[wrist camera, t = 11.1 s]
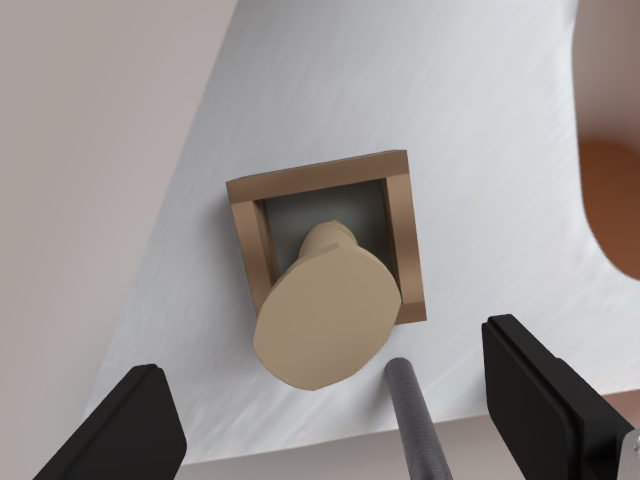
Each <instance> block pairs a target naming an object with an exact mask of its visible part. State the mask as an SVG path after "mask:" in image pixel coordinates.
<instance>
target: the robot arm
mask: <svg viewBox="0 0 640 480" xmlns="http://www.w3.org/2000/svg"><path fill="white" fill-rule="evenodd" d="M482 340H483V354H484V367H485V381H486V394H487V406H488V410H489V414H490V416H491V419H492V420H493V422H494V424H495V426H496V428H497V429H498V431H499V433H500V435H501V436H502V438H503V440H504V442H505V444H506V445H507V447H508V449H509V451H510V452H511V454H512V456H513V458H514V459H515V461H516V463H517V465H518V467H519V468H520V470H521V472H522V474H523V475H524V477H525V479H526V480H640V429H635V428H634V427H633V426H631V424H630V423H628V422H627V421H626V420H625V419H624V418H623V417H622V416H621V415H620V414H619V413H618V412H617V411H616V410H615V409H614V408H613V407H612V406H611V405H610V404H609V403H608V402H607V401H606V400H605V399H603V398H602V397H601V396H600V395H599V394H598V393H597V392H596V391H595V390H594V389H593V388H592V387H591V386H590V385H589V384H588V383H587V382H586V381H585V380H584V379H583V378H582V377H581V376H580V375H578V374H577V373H576V372H575V371H574V370H573V369H572V368H571V367H570V366H569V365H568V364H567V363H566V362H565V361H563V360H562V359H561V358H556V357H555V356H554V355H553V354H552V353H551V352H550V351H549V350H547V349H546V348H545V347H544V346H543V345H542V344H541V343H540V342H539V341H538V340H537V339H536V338H535V337H534V336H533V335H532V334H531V333H530V332H529V331H528V330H527V329H526V328H525V327H524V326H523V325H522V324H521V323H520V322H519V321H518V320H517V319H516V318H515V317H514V316H513V315H511V314H505V315H498V316H491V317H489V318H488V321H487V322H486V323H482ZM186 450H187V442H186V438H185V435H184V432H183V429H182V426H181V423H180V420H179V417H178V414H177V411H176V407H175V404H174V401H173V398H172V395H171V392H170V389H169V386H168V383H167V380H166V377H165V373H164V371H163V369H162V368H158V366H157V365H156V364H147V365H139V366H134V367H133V368H131V370H130V371H129V372H128V373H127V374H126V375H125V376H124V377H123V379H122V380H121V381H120V382H119V383H118V384H117V385H116V386H115V388H114V389H113V390H112V391H111V392H110V393H109V394H108V395H107V396H106V398H105V399H104V400H103V401H102V402H101V403H100V404H99V405H98V407H97V408H96V409H95V410H94V411H93V412H92V413H91V414H90V416H89V417H88V418H87V419H86V420H85V421H84V422H83V423H82V425H81V426H80V427H79V428H78V429H77V430H76V431H75V432H74V434H73V435H72V436H71V437H70V438H69V439H68V440H67V441H66V443H65V444H64V445H63V446H62V447H61V448H60V449H59V450H58V452H57V453H56V454H55V455H54V456H53V457H52V458H51V459H50V460H49V462H48V463H47V464H46V465H45V466H44V467H43V468H42V469H41V471H40V472H39V473H38V474H37V475H36V476H35V477H34V478H33V480H174V478H175V475H176V473H177V471H178V469H179V467H180V465H181V463H182V461H183V459H184V456H185V454H186Z"/></svg>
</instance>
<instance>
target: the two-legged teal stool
mask: <svg viewBox="0 0 640 480" xmlns="http://www.w3.org/2000/svg"><path fill="white" fill-rule="evenodd" d="M386 375H387V379H388V384H389V388H390V392H391V397H392V401H393V405H394V410H395V414H396V418H397V423H398V427H399V431H400V435H401V440H402V444H403V448H404V452H405V457H406V461H407V466H408V470H409V474H410V478H411V480H453V478H452V476H451V473H450V470H449V467H448V464H447V462H446V459H445V456H444V453H443V450H442V448H441V445H440V442H439V440H438V437H437V434H436V431H435V428H434V425H433V423H432V420H431V417H430V414H429V411H428V409H427V406H426V403H425V400H424V398H423V395H422V392H421V389H420V386H419V384H418V381H417V378H416V375H415V373H414V370H413V367H412V364H411V363H410V362H409V361H408V360H407V359H404V358H394V359H392V360H391V361H389V362H388V364H387V365H386Z"/></svg>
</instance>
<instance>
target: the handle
mask: <svg viewBox="0 0 640 480" xmlns="http://www.w3.org/2000/svg"><path fill="white" fill-rule="evenodd" d="M401 302H402V300H401V296H400V292H399V290H398V287H397V285H396V282H395V280H394V278H393V276H392V275H391V273H390V272H389V271H388V269H387V268H386V266H385V265H384V264H383V263H382V262H381V261H380V260H379V259H378V258H377V257H375V256H374V255H373V254H371V253H370V252H368V251H367V250H365V249H363V248H361V247H359V246H358V244H357V241H356V239H355V237H354V235H353V234H352V233H351V231H350V230H349V229H348V228H347V227H346V226H344V225H342V224H341V223H339V221H338V220H336V219H332V220H331V221H327V222H323V223H320V224H319V223H318V224H316V225H315V226H314V227H313V228H312V230H311V231H310V232H309V233H308V235H307V236H306V238H305V240H304V242H303V244H302V246H301V249H300V252H299V257H298V260H297V261H296V262H295V263H293V264H292V265H291V266H290V267H289V268H288V269H287V271H286V272H285V273H284V274H283V275H282V276H281V277H280V279H279V280H278V281H277V282H276V283H275V285H274V286H273V287H272V289H271V290H270V291H269V293H268V295H267V297H266V299H265V301H264V304H263V306H262V309H261V311H260V314H259V317H258V321H257V325H256V329H255V333H254V338H253V342H252V345H253V348H254V351H255V353H256V355H257V357H258V359H259V360H260V362H261V363H262V364H263V365H264V367H265V368H266V369H267V370H268V371H269V372H271V373H272V374H273V375H274V376H275V377H277V378H278V379H280V380H281V381H283V382H284V383H286V384H288V385H291V386H293V387H295V388H299V389H303V390H309V391H315V390H318V389H320V388H323V387H326V386H329V385H332V384H334V383H337V382H339V381H342V380H344V379H346V378H348V377H350V376H352V375H354V374H355V373H356V372H357V371H359V370H360V369H361V368H362V367H363V366H364V365H365V364H366V363H367V362H368V361H369V360H370V359H371V358H372V357H373V356H374V355H375V354H376V353H377V352H378V351H379V350H380V349H381V348H382V346H383V345H384V344H385V343H386V341H387V339H388V337H389V335H390V333H391V331H392V329H393V326H394V323H395V320H396V317H397V314H398V311H399V308H400V305H401Z"/></svg>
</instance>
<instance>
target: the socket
mask: <svg viewBox="0 0 640 480" xmlns="http://www.w3.org/2000/svg"><path fill="white" fill-rule="evenodd" d="M226 187H227V191H228V195H229V200H230V204H231V208H232V212H233V217H234V221H235V225H236V229H237V234H238V238H239V242H240V247H241V251H242V255H243V259H244V264H245V268H246V272H247V276H248V281H249V285H250V289H251V294H252V298H253V302H254V306H255V311H256V315H257V319H258V317H259V314H260V311H261V309H262V306H263V304H264V301H265V299H266V297H267V295H268V293H269V291H270V290H271V289H272V287H273V286H274V285H275V283H276V282H277V281H278V280H279V279H280V277H281V276H282V275H283V274H284V273H285V272H286V271H287V269H288V268H289V267H290V266H291V265H292V264H293V263H295V262H296V261H297V260H298V257H299V252H300V249H301V246H302V244H303V242H304V240H305V238H306V236H307V235H308V233H309V232H310V231H311V230H312V228H313V227H314V226H315V225H316V224H318V223H319V224H320V223H323V222H327V221H331V220H332V219H336V220H338V221H339V223H341V224H342V225H344V226H346V227H347V228H348V229H349V230H350V231H351V233H352V234H353V235H354V237H355V239H356V241H357V244H358V246H359V247H361V248H363V249H365V250H367V251H368V252H370V253H371V254H373V255H374V256H375V257H377V258H378V259H379V260H380V261H381V262H382V263H383V264H384V265H385V266H386V268H387V269H388V271H389V272H390V273H391V275H392V276H393V278H394V280H395V282H396V285H397V287H398V290H399V292H400V296H401V300H402V302H401V305H400V308H399V311H398V314H397V317H396V320H395V323H394V325H398V324H405V323H412V322H419V321H426V320H427V318H426V309H425V301H424V292H423V284H422V275H421V267H420V259H419V250H418V242H417V233H416V225H415V216H414V208H413V200H412V191H411V183H410V174H409V166H408V157H407V150H390V151H384V152H379V153H373V154H368V155H362V156H356V157H351V158H345V159H340V160H334V161H328V162H323V163H317V164H312V165H306V166H301V167H295V168H289V169H284V170H278V171H273V172H267V173H262V174H256V175H250V176H245V177H241V178H238V179H234V180H231V181H228V182H226Z"/></svg>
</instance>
